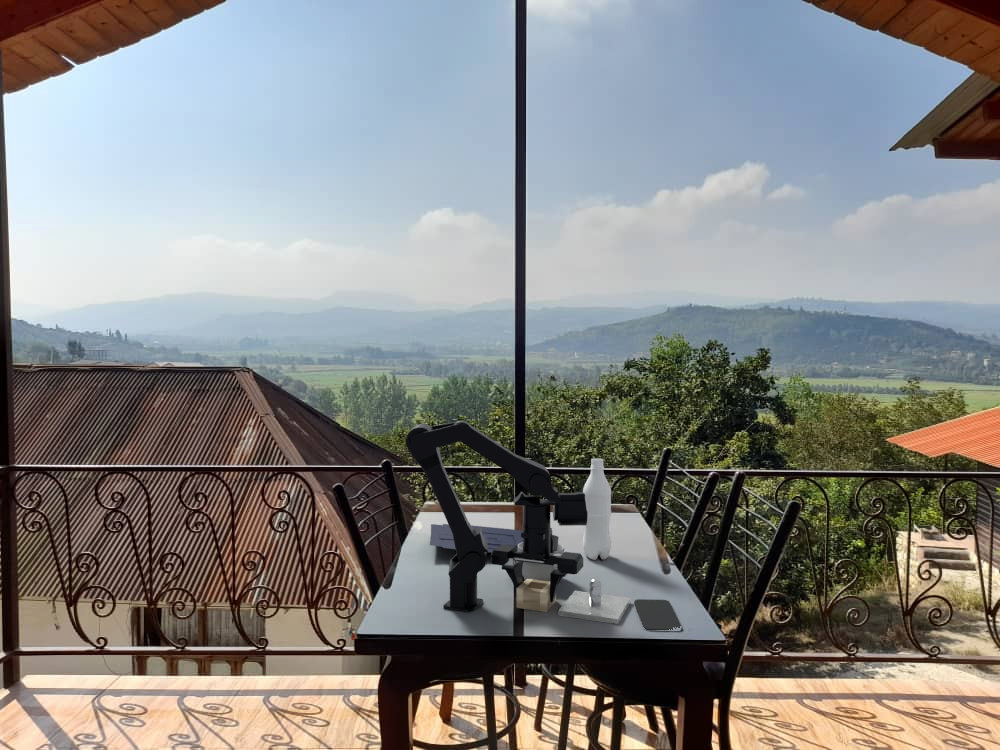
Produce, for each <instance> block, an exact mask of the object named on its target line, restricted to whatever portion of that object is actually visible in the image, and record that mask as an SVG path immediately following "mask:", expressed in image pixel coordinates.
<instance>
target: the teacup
mask: <svg viewBox="0 0 1000 750" xmlns="http://www.w3.org/2000/svg"><path fill="white" fill-rule="evenodd" d="M517 547H518V552H522V551H523V542H522V543H519V544H518V546H517ZM565 549H566V548H565V546H564V545H562V544H561V543H558V547H557V551H554V553H550V555H551V556H561V555H562V554H563V553H564V552H565ZM544 560H545V559H544ZM554 569H555V568H554V565H546V564H538V563H530V562H523V567H522V577H523V578H524V579H525V580H526V579H534V580H541V581H549V582H550V573H551V572H552V571H553V570H554Z"/></svg>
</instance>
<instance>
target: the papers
mask: <svg viewBox="0 0 1000 750" xmlns="http://www.w3.org/2000/svg"><path fill="white" fill-rule="evenodd" d="M470 525H471V524H470ZM471 526H472V527H473V528H474V529H476V528H478V527H479V526H480V527H481V531H482V535H483V537H484V539H485V540H486V541H487V542H488V552H487V553H491V552H492V551H493V550H494V549H496V548H497V547H499V546H500V545H510V546H516V548H517V552H518V547H517V546H518V544H519V543H522V542H523V538H521V532H523V530H517V529H513V528H503V527H502V528H501V527H493V526H492V527H491V526H483V525H473V524H472V525H471ZM429 539H430V540H429V546H434V547H442V548H443V549H451V550H456V549H455V543H454V538H453V534H452V531H451V529H450V526H449V524H448V523H447V524H446V523H443V524H435V523H431V524H430V538H429Z"/></svg>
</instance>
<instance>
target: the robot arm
mask: <svg viewBox="0 0 1000 750" xmlns="http://www.w3.org/2000/svg"><path fill="white" fill-rule="evenodd" d="M454 443H462V444H463V445H465V446H467V447H469V448H470V449H471V450H473V451H475V452H476V453H478V454H479V455H480V456H482V457H484V458H485V459H486V460H488V461H490V462H491V463H493V464H495V465H496V466H497V467H499V468H501V469H502V470H504V471H505V472H507V473H508V474H509V475H510V477H512V478H513V479H514V481H515V482H517V483H518V485H520V486H521V488H523V489H524V490H525V491H526V492H527V493H528V494H529V495H526V494H525V493H524V492H523V491H520V493H519V494H518V495H517V496H516V497H515V498H514V499H513V503H514V505H515V506H516V507H517V506H522V531H523V532H521V538H523V551H522V552H517V548H516V546H510V545H500V546H499V547H497V548H496V549H494V550H493V551H492V552H490V564H491V565H495V566H501V569H502V571H504V570H505V571H506V574H507V575H508V577H509V579H510V580H511V583H512V585H513V586H514V589H515V591H516V592H517V588H518V587H519V586H520V585H521V584H522V583H523V582H524V580H523V578H524V576H522V567H523V562H530V563H538V564H546V565H554V568H555V569H554V570H553V571H552V572H551V573H550V601H551V602H553V601H554V599H555V596H556V597H557V593H558V590H559V586H560V583H561V582H562V579H563V578H566V576H568V575H577V574H578V573H579V572H580V571H581V570H582V568H584V557H583V555H582V554H581V553H579V552H570V551H564V553H563V554H562V555H561V556H551V555H550V553H554V551H557V547H558V544H559V536H557V535H554V534H553V528H552V527H551V506H552V517H553V518H552V519H553V522H557V523H558V526H560V527H561V526H562V527H563V526H566V527H568V526H570V527H571V526H585V525H587V516H588V512H587V510H586V501H585V494H584V492H583V491H575V492H559V490H558V489H557V487H555V486H554V485H553V484H552V483H553V482H552V477H551V474H550V472H549V470H548V469H547V467H545V465H543V464H541V463H539V462H537V461H534V460H532V459H529V458H526V457H523V456H521V455H518V454H515V453H514V452H512V451H511V450H509V449H508V448H506V447H504V446H503V445H502V444H500V443H498V442H497V441H496V440H494V439H492V438H491V437H489V436H488V435H486V434H484V433H483V432H481V431H480V430H478V429H477V428H475V427H474V426H472V425H471V424H470V423H469V422H468V421H466V420H458V421H456V422H455V421H454V422H448V423H442V424H436V425H428V424H426V423H420V424H417V425H415V426H413V427H412V428H411V430H409V432H408V433H407V435H406V437H405V446H406V448H407V450H408V452H409V454H410V455H411V456H412V458H413V459H414V461H415V462H416V463H417V465H418V466H419V467H420V468H421V469H422V470H423V472H424V473H425V475H426V477H427V479H428V481H429V485H430V486H431V488H432V491H433V493H434V495H435V497H436V499H437V502H438V504H439V506H440V508H441V509H440V510H441V511H442V513H443V516H444V517H445V520H446V522H447V524H449V526H450V529H451V531H452V534H453V538H454V543H455V549H454V550H455V552H456V554H455V555H454V556H453V557H452V558H451V559H450V562H449V566H448V567H449V568H448V577H449V600H448V601H446V602H445V603H444V604H443V605H442V607H443V608H444V609H448V610H449V609H450V610H456V611H461V612H462V611H463V612H469V613H470V612H473V611H475V609H477V608H478V607H479V606H480V605H481V604H482V603H483V602H484V599H483V598H478V574H479V572H481V571H483V569H484V568H485V567H486V564H487V562H488V559H487V558H488V556H487V555H488V554H487V553H489V552H488V542H487V541H486V540H485V539H484V537H483V535H482V531H481V527H480V526H481V525H478V526H479V527H478V528H476V529H474V528H473V527H472V526H473V525H472V526H471V523H470V521H469V520H468V518H467V515H466V513H465V511H464V508H463V507H462V505H461V502H460V500H459V497H458V495H457V493H456V491H455V489H454V486H453V484H452V482H451V480H450V476H449V475H448V473H447V471H446V468H445V467H444V464H443V460H442V455H441V450H440V448H441V447H444V446H447V445H448V446H449V445H451V444H454ZM540 496H541V497H543V499H542V498H541V497H540ZM544 559H545V560H544Z"/></svg>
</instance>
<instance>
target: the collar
mask: <svg viewBox="0 0 1000 750" xmlns="http://www.w3.org/2000/svg"><path fill="white" fill-rule="evenodd" d="M556 602H557V595H556V596H555V599H554V601H553V602H551V601H550V582H549V581H541V580H534V579H525V580H523V583H522V584H521V585H520V586H519V587H518V588H517V591H516V609H524V610H529V611H537V612H543V613H547V612H548V611H549V610H550V609H551V608H552V607H553V606H554V604H556Z"/></svg>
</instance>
